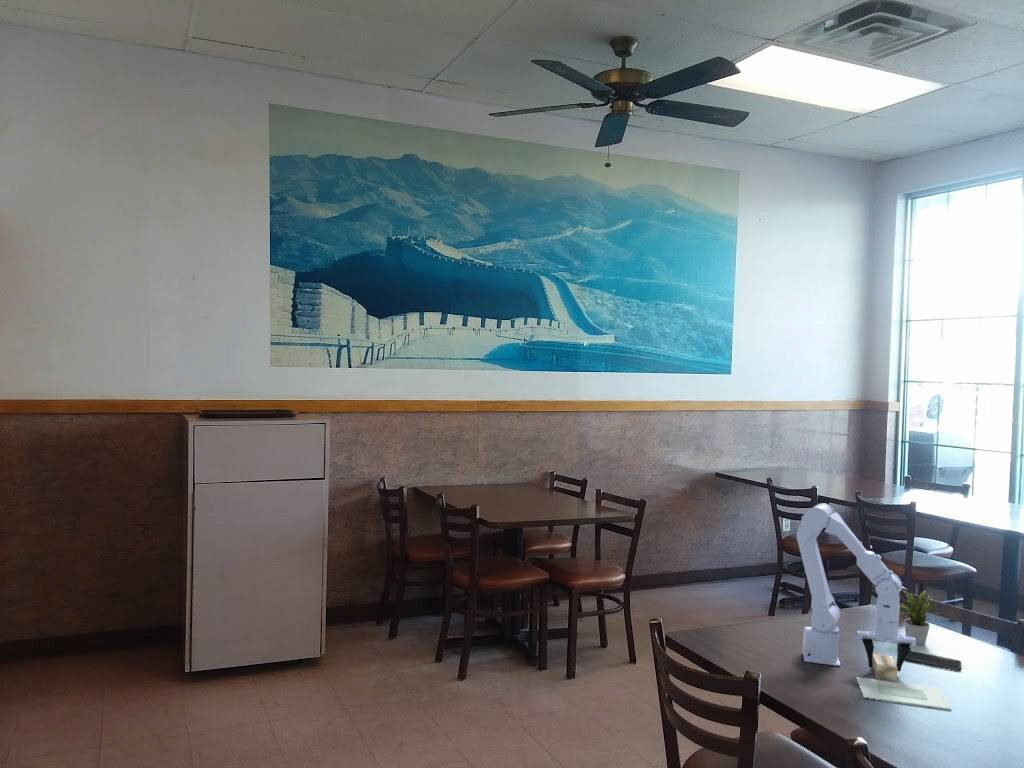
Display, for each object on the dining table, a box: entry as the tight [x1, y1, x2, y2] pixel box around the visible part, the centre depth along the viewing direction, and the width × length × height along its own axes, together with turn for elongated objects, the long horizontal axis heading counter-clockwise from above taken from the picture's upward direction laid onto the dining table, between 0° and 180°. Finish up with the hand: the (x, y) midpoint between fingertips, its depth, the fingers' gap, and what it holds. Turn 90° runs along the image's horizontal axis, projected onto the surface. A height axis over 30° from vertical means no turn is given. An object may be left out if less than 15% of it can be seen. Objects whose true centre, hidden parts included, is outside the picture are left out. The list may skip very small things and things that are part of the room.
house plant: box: [899, 588, 940, 647], centre depth 247 cm, size 14×14×16 cm
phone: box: [904, 650, 962, 672], centre depth 231 cm, size 8×1×15 cm
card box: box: [871, 653, 898, 682], centre depth 221 cm, size 5×9×4 cm, turn 163°
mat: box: [855, 676, 952, 712], centre depth 208 cm, size 20×13×1 cm, turn 75°
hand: (884, 668), depth 221 cm, fingers open, 6 cm apart
